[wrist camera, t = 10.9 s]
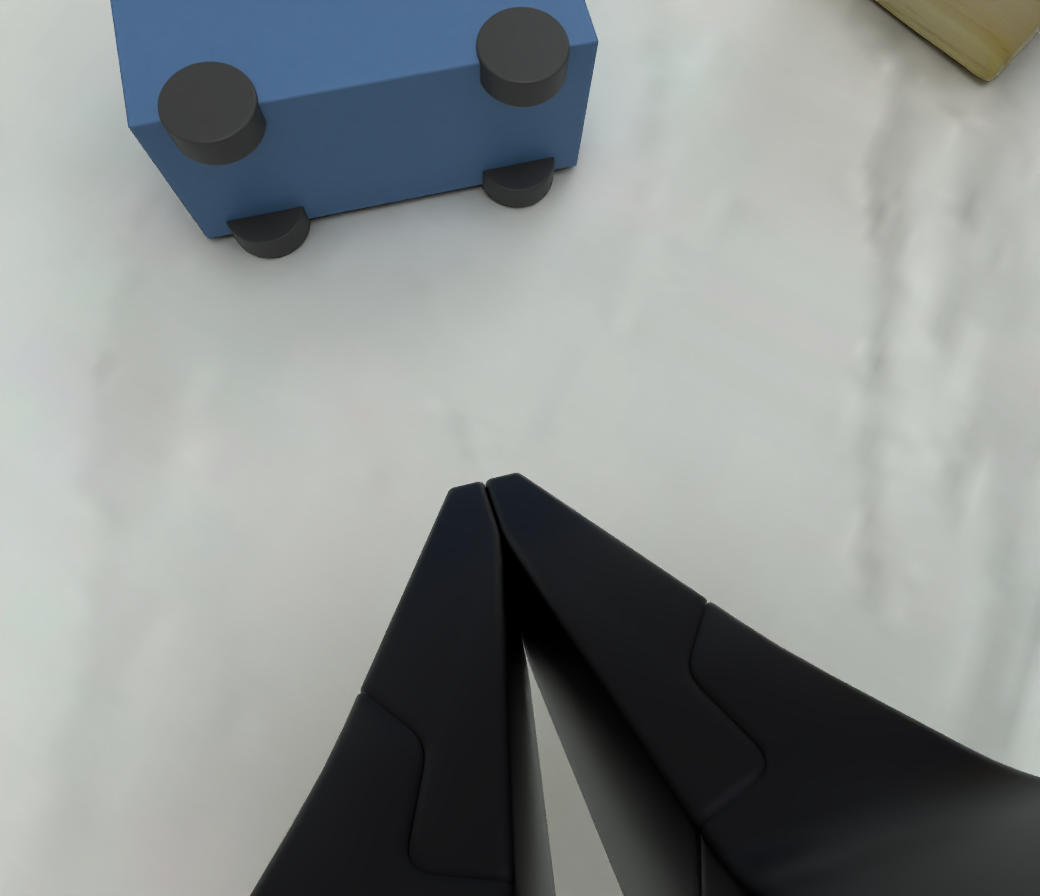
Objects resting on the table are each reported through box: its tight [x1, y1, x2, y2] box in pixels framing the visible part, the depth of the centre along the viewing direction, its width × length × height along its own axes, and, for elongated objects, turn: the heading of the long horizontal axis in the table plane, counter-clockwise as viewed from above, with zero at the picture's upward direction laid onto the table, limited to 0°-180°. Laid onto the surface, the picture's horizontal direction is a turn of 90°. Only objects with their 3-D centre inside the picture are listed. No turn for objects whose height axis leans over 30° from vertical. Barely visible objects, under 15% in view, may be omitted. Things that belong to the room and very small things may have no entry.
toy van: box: [110, 0, 598, 258], centre depth 22 cm, size 6×12×9 cm
